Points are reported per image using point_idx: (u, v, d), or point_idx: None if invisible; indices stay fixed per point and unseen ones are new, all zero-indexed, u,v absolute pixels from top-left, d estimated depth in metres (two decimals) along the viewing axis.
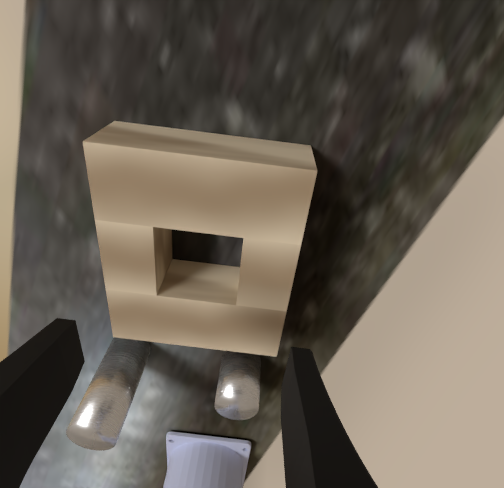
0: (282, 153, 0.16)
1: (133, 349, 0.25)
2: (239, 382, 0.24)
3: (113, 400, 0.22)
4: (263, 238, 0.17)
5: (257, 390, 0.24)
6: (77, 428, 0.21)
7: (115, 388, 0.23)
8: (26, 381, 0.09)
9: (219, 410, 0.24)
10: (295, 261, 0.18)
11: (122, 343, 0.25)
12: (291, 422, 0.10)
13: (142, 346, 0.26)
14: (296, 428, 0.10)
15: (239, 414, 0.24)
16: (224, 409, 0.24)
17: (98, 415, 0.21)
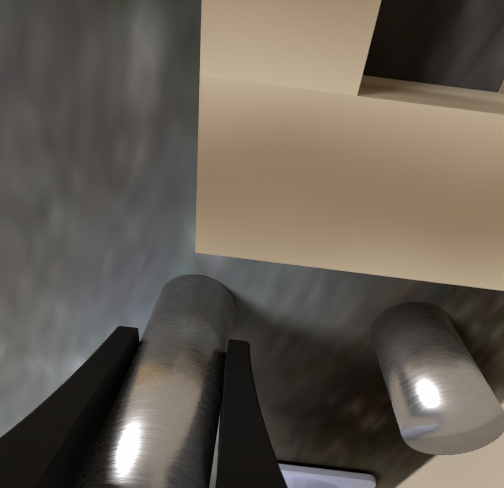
0: None
1: (210, 305, 0.12)
2: (461, 373, 0.11)
3: (190, 415, 0.09)
4: None
5: None
6: None
7: (189, 385, 0.09)
8: (103, 390, 0.09)
9: (409, 435, 0.11)
10: None
11: (187, 293, 0.12)
12: (221, 414, 0.10)
13: (224, 301, 0.13)
14: None
15: (450, 444, 0.11)
16: (422, 433, 0.11)
17: (158, 456, 0.08)
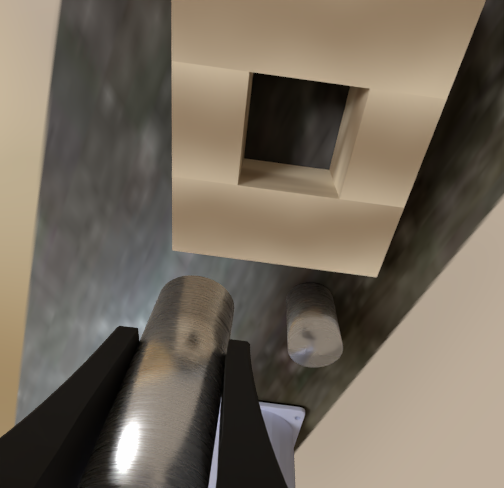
0: None
1: (210, 307, 0.12)
2: (320, 319, 0.19)
3: (190, 417, 0.09)
4: (397, 88, 0.13)
5: (339, 331, 0.20)
6: None
7: (190, 386, 0.09)
8: (103, 390, 0.09)
9: (292, 354, 0.20)
10: (433, 126, 0.13)
11: (187, 294, 0.12)
12: (221, 414, 0.10)
13: (224, 303, 0.13)
14: (221, 419, 0.09)
15: (316, 360, 0.20)
16: (299, 352, 0.20)
17: (159, 458, 0.08)
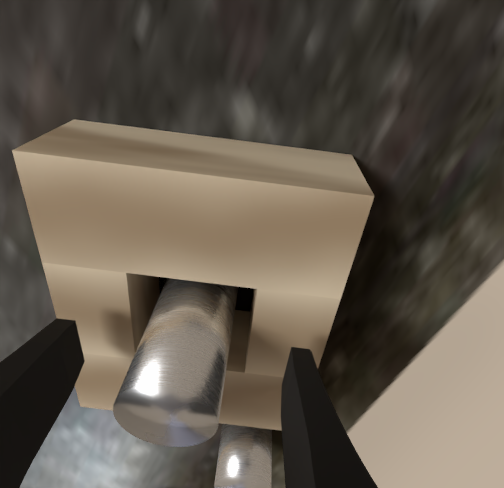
0: (315, 167, 0.11)
1: None
2: (248, 458, 0.18)
3: (207, 345, 0.11)
4: (286, 289, 0.12)
5: (269, 466, 0.19)
6: (140, 398, 0.10)
7: (206, 324, 0.11)
8: (26, 381, 0.09)
9: None
10: (330, 320, 0.12)
11: None
12: (291, 422, 0.10)
13: None
14: (296, 428, 0.10)
15: None
16: None
17: (184, 370, 0.10)
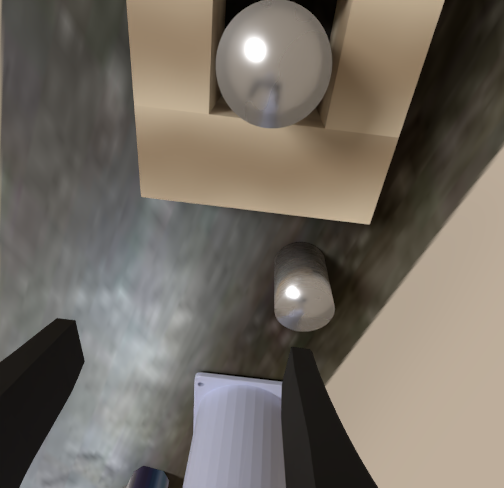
0: None
1: None
2: (311, 277, 0.18)
3: None
4: None
5: None
6: (250, 27, 0.09)
7: None
8: (26, 381, 0.09)
9: (279, 315, 0.18)
10: (430, 32, 0.11)
11: None
12: (291, 422, 0.10)
13: None
14: (296, 428, 0.10)
15: (305, 322, 0.18)
16: (287, 314, 0.18)
17: None
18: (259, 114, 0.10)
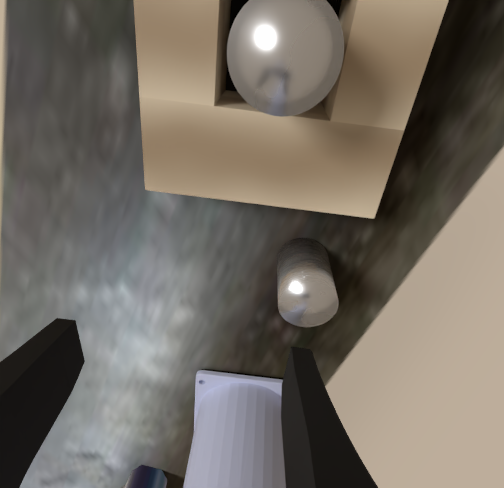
0: None
1: None
2: (315, 272, 0.17)
3: None
4: None
5: None
6: (263, 13, 0.09)
7: None
8: (26, 381, 0.09)
9: (283, 310, 0.18)
10: (437, 24, 0.11)
11: None
12: (291, 422, 0.10)
13: None
14: (296, 428, 0.10)
15: (308, 318, 0.18)
16: (290, 308, 0.18)
17: None
18: (269, 102, 0.10)
